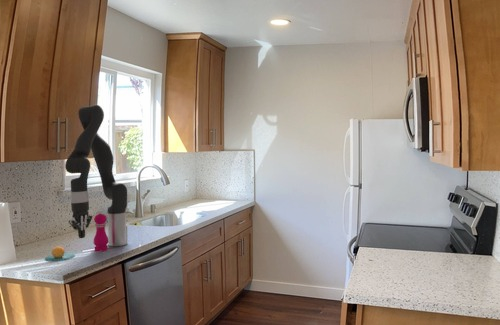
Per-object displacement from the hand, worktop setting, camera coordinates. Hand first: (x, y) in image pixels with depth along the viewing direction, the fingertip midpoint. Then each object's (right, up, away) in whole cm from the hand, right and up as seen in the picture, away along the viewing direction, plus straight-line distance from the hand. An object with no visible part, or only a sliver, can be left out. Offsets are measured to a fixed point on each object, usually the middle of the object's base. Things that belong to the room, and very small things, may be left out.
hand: (81, 237), depth 191 cm
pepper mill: (+2, -10, +19) cm, 21 cm away
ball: (-13, -8, +4) cm, 16 cm away
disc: (-13, -10, +6) cm, 17 cm away
